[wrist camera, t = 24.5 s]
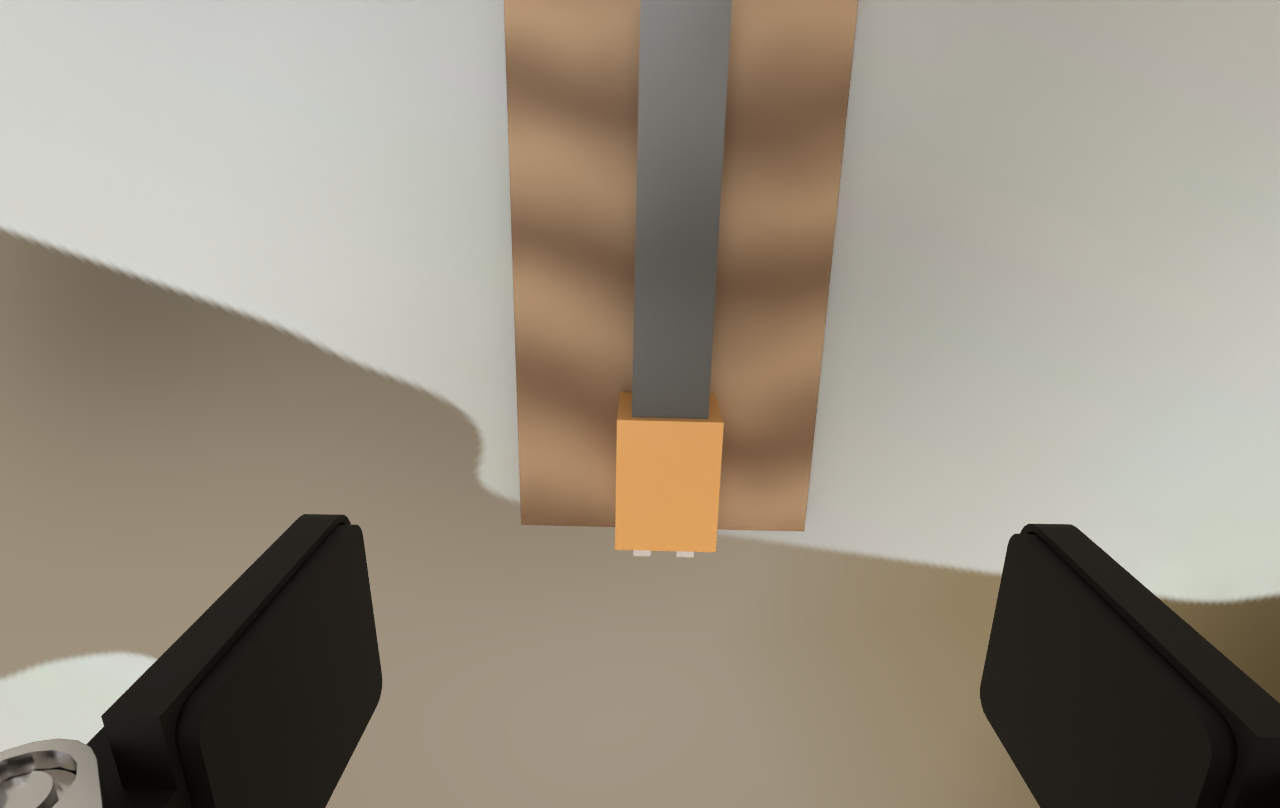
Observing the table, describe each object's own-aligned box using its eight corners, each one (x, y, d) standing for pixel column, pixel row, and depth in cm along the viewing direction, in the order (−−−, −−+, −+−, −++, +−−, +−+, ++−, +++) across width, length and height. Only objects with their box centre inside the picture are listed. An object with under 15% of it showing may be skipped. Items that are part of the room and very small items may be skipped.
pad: (507, -75, 28) (501, -86, 27) (857, -68, 28) (866, -78, 27) (525, 513, 36) (521, 524, 35) (799, 520, 36) (804, 531, 35)
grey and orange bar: (626, 5, 28) (623, -22, 24) (737, 8, 28) (751, -18, 24) (618, 530, 35) (614, 574, 32) (706, 533, 35) (714, 576, 32)
